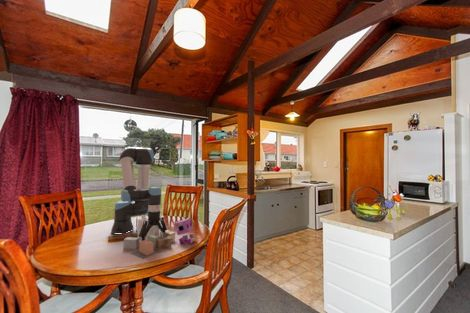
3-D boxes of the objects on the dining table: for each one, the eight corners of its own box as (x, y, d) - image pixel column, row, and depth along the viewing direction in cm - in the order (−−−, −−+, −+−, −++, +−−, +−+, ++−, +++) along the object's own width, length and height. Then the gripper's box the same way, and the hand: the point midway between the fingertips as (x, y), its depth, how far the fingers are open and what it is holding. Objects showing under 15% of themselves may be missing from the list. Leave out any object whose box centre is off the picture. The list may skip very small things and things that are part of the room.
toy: (190, 243, 142) (184, 221, 144) (179, 246, 143) (173, 224, 145) (196, 238, 152) (191, 217, 154) (186, 241, 154) (181, 220, 156)
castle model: (136, 242, 145) (137, 220, 145) (141, 235, 159) (141, 214, 159) (159, 241, 148) (159, 219, 148) (161, 234, 162) (162, 214, 162)
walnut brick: (158, 250, 133) (159, 241, 133) (156, 248, 136) (156, 239, 136) (171, 247, 138) (171, 238, 138) (168, 245, 141) (168, 236, 141)
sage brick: (147, 244, 142) (147, 235, 142) (152, 243, 145) (152, 233, 145) (154, 247, 137) (155, 238, 137) (160, 245, 140) (160, 236, 140)
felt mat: (130, 254, 127) (130, 253, 127) (149, 247, 137) (149, 246, 137) (142, 259, 120) (142, 258, 120) (161, 252, 130) (161, 251, 130)
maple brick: (162, 240, 150) (162, 231, 150) (167, 238, 153) (167, 230, 153) (170, 242, 146) (170, 233, 146) (174, 241, 149) (175, 232, 149)
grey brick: (123, 249, 134) (123, 239, 134) (127, 246, 138) (127, 237, 138) (135, 249, 134) (136, 239, 134) (139, 247, 138) (139, 237, 138)
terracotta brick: (139, 251, 129) (139, 241, 130) (145, 249, 133) (145, 239, 133) (147, 255, 125) (147, 244, 125) (153, 253, 128) (153, 242, 128)
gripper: (140, 215, 129) (139, 252, 128) (173, 208, 149) (171, 240, 148) (133, 213, 133) (132, 249, 133) (166, 207, 153) (164, 238, 152)
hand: (153, 244), depth 140 cm, fingers open, 12 cm apart
